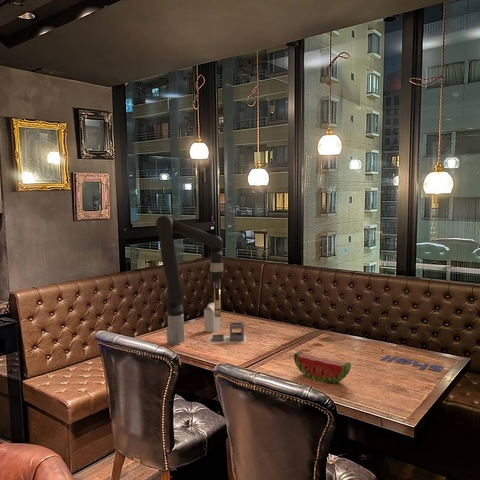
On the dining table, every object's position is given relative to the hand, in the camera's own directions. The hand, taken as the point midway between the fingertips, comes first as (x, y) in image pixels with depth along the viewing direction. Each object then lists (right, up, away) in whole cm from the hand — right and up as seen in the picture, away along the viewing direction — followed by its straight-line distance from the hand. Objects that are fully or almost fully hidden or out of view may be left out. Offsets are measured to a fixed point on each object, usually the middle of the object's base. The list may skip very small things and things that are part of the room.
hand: (217, 299), depth 253 cm
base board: (+5, -25, +2) cm, 26 cm away
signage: (+99, -28, -37) cm, 109 cm away
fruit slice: (+51, -30, -53) cm, 79 cm away
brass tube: (0, -10, +1) cm, 10 cm away
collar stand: (+6, -24, +2) cm, 25 cm away
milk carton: (-4, -24, +21) cm, 33 cm away
